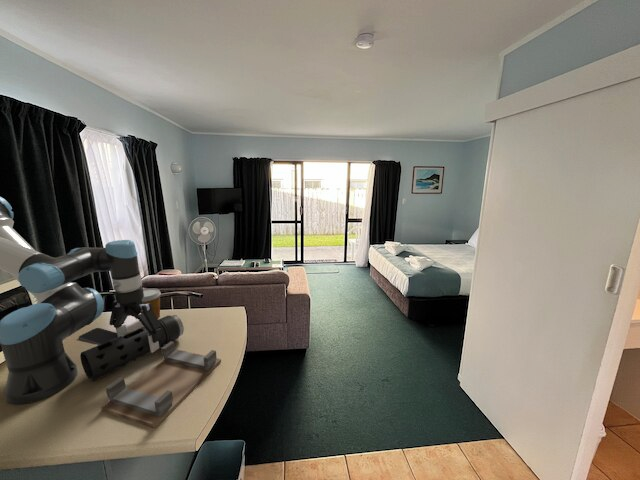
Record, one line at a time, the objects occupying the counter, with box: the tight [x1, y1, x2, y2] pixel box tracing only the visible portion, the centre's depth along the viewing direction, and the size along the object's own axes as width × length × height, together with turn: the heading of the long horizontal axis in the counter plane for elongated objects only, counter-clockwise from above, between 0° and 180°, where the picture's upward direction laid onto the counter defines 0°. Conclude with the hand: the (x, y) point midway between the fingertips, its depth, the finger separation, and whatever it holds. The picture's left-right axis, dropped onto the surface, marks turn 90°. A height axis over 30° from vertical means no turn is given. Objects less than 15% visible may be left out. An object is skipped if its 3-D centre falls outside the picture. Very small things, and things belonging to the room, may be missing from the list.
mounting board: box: [100, 341, 222, 429], centre depth 82 cm, size 18×26×6 cm
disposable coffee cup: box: [140, 288, 162, 319], centre depth 119 cm, size 10×10×12 cm
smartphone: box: [78, 327, 118, 345], centre depth 106 cm, size 7×1×15 cm
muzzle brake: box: [79, 314, 185, 382], centre depth 93 cm, size 10×28×10 cm, turn 147°
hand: (139, 346), depth 94 cm, fingers open, 13 cm apart
